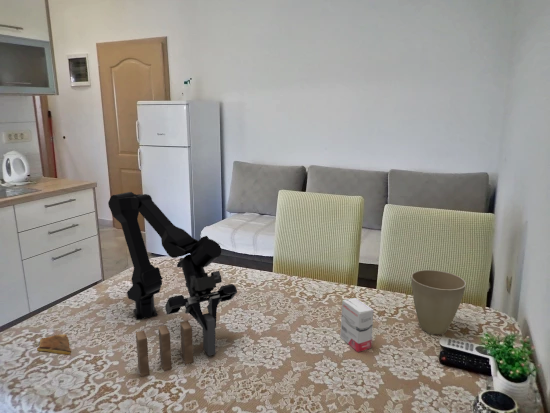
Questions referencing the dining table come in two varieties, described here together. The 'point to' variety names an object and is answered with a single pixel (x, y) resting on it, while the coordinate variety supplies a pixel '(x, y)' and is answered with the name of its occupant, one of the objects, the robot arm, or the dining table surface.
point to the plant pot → (436, 298)
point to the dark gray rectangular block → (209, 335)
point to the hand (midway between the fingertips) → (210, 329)
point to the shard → (55, 344)
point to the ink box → (356, 324)
